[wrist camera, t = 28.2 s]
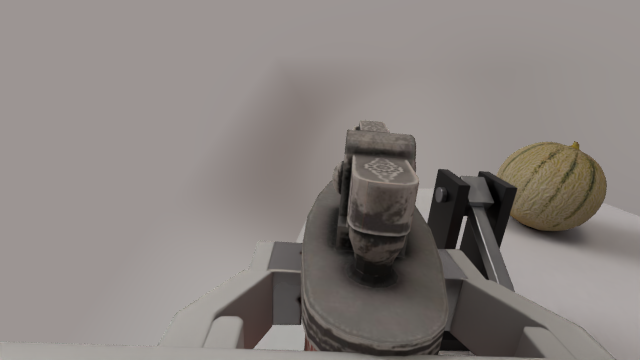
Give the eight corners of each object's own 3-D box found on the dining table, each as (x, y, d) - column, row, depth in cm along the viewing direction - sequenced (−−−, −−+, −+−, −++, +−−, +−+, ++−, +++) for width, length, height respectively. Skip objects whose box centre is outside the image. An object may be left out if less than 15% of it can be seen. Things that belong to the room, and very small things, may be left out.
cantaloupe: (468, 213, 55) (488, 133, 50) (516, 203, 62) (538, 131, 57) (557, 256, 43) (595, 155, 38) (605, 237, 50) (643, 149, 45)
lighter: (411, 602, 7) (550, 200, 4) (266, 572, 7) (270, 173, 4) (381, 326, 14) (417, 117, 11) (312, 317, 15) (326, 109, 11)
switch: (536, 362, 21) (573, 355, 18) (486, 361, 21) (516, 354, 18) (475, 195, 30) (495, 173, 27) (440, 193, 30) (455, 171, 27)
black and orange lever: (508, 352, 27) (562, 202, 22) (421, 349, 27) (457, 197, 22) (457, 280, 37) (487, 164, 32) (393, 277, 36) (413, 160, 31)
